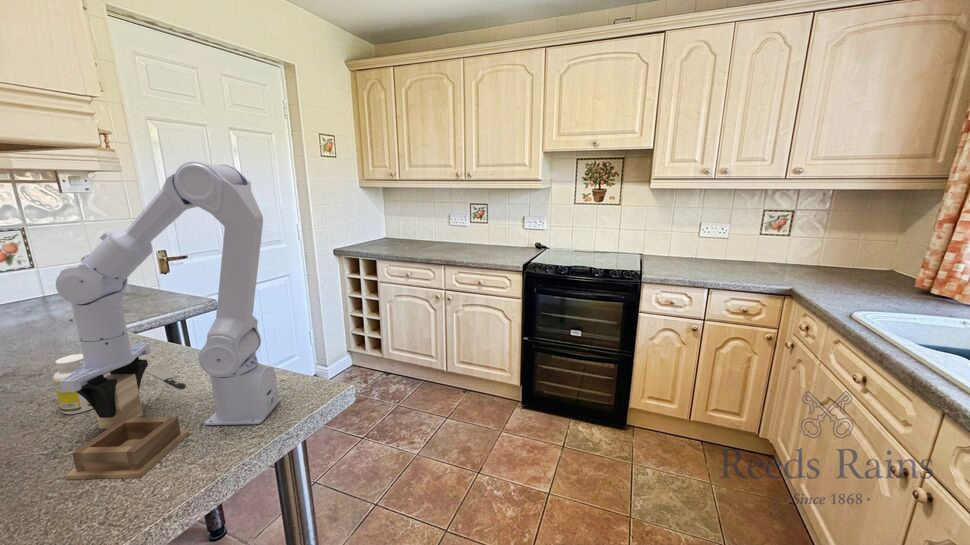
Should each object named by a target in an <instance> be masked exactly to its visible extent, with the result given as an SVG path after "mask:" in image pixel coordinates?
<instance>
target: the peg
mask: <svg viewBox="0 0 970 545" xmlns="http://www.w3.org/2000/svg"><path fill="white" fill-rule="evenodd" d="M106 377H107V379H117V380H118V381H117V384H116V388H115V405H116V414H115V416H114V417H112V418H100V417H99V416H98V414H97V413H96V412H95V415H96V420H97V423H98V428H99V430H102V429H105V430H107V429H109V428H110V427H111V426H113V425H114V424H116V423H117V422H119V421H120V420H122V419H123V418H142V416H144V413H143V412H144V411H143V407H142V401H141V397H140V390H139V391H138V386H137V380H136V375H135V374H109V375H107V376H106Z"/></svg>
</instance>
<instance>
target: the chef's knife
mask: <svg viewBox="0 0 970 545" xmlns="http://www.w3.org/2000/svg"><path fill="white" fill-rule="evenodd" d="M144 373H147V374H149V375H150V376H152V377H155V378H157V379H158V380H160V381H162V382H165V383H167V384H168V385H171V386H173V387H175V388H177V389H179V390H182V389H184V388H185V387H186V384H185V383H183V382H181V383H180V382H177V381H175V380H174V379H175V378H177V377H180V375H178V374H175V373H172V372H170V371H166V370H163V369H159V370H158V368H156V369H155V368H146V369H145V371H144Z"/></svg>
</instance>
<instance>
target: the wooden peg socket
mask: <svg viewBox="0 0 970 545" xmlns="http://www.w3.org/2000/svg"><path fill="white" fill-rule="evenodd" d="M180 427H181V426H180V423H179V417H178V416H176V417H173V416H172V417H139V418H123V419H122V420H120V421H119V422H117V423H116V424H114V425H113V426H111V427H110V428H109V429H105V430H104V431H103V432H102V433H100V434H98V435H97V436H95V437H94V438H92V439H90V440H89V441H88V442H86V443H85V444H83V445H82V446H81V447H79V448H77V449H76V450H75V451H73V452H72V458H73V462H74V463H73V464H74V467H75V468H74V469H72V470H71V471H70V472H68V473H67V474H66V475H64V477H65V480H66V481H68V480H95V479H96V480H97V479H99V480H100V479H131V478H132V479H133V478H142V477H143V476H144V475H145V474H147V473H148V472H149V471H150V470H151V469H152V468H153V467H154V466H155V465H156V464H158V463H159V462H160V461H161V460H162V459H163V458H164V457H166V456H167V455H168V454H169V452H171V451H172V450H173V449H174V448H176V447H177V446H178V445H179V444H180V443H181V442H183V440H184V439H186V437H188V436H189V435H190V430H181V429H180Z"/></svg>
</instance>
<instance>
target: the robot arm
mask: <svg viewBox="0 0 970 545" xmlns="http://www.w3.org/2000/svg"><path fill="white" fill-rule="evenodd" d="M194 208H200V209H201V210H204V211H206V212H207V213H209V214H210V215H212V216H213V218H215V219H216V220H217V221H218V222H219V223H220V224H222V226H223V227H224V232H223V233H224V234H223V241H222V253H221V262H220V275H219V283H218V284H219V285H218V294H217V305H216V314H215V315H216V316H215V319H214V322H213V323H212V325H211V327H210V329H209V331H208V332H207V336H206V341H205V344H204V346H202V348H201V350H200V351H199V353H198V363H199V366H200V367H201V369H202V370H203V371H204V372H205V373H206V374H208V375H209V378H210V382H211V383H210V384H211V388H212V397H213V401H214V409H215V410H214V411H215V412H214V413H213V414H212V415H211V416H210V417H208V418H207V419H206V420H205V421H204V425H205V426H222V425H224V426H227V425H230V426H231V425H235V426H236V425H259V424H262V423H263V421H264V420H265V419H266V418H267V417H268V415H269V414H270V413H272V411H273V410H274V408H275V407H276V406H277V405H278V404H279V403H280V402H281V398H280V397H279V395H278V385H277V376H276V375H277V374H276V371H275V369H274V367H272V366H270V365H269V366H267V365H263V364H262V363H259V362H258V358H257V353H256V352H257V351H258V350H259V348H260V347H261V344H262V336H261V334H260V332H259V330H258V329H259V328H258V323H259V322H258V319H257V318H256V317H254V315H253V313H254V304H255V297H256V286H257V279H258V278H257V277H258V269H259V261H260V253H261V245H262V244H261V243H262V233H263V226H264V216H263V213H262V212H261V209H260V207H259V205H258V203H257V201H256V198H255V196H254V194H253V192H252V182H251V181H250V180H248V179H247V178H246V176H244V175H243V173H241V172H240V171H239V170H238V169H237V168H236V167H234V166H232V165H229V164H215V163H214V164H213V163H205V162H202V161H196V160H195V161H194V160H193V161H186V162H185V163H183V164H181V165H180V166H179V167H178V168H177V169H176V171H175V173H172V174H171V175H169V176H168V177H166V179H165V181H164V184H163V187H162V188H160V190H159V191H158V192H157V194H156V195H154V197H153V198H152V199H151V201H150V202H149V203H148V204H147V205H146V206H145V207H144V209H143V210H142V211H141V212H140V213H139V215H138V216H137V217H136V218H135V219H134V220H133V222H132V223H131V224H130V225H129V227H128V228H118V229H114V230H112V231H108V232H104V233H103V234H102V235H100V237H99V239H100V240H101V242H100V243H99V244H98V245H97V246H96V247H95V248H94V249H93V250H92V251H91V252H90V253H89V254H85V255H83V256H82V257H81V258H80V261H81V263H80V264H79V265H78V266H70V267H67V268H64V269H61V270H60V271H59V272H60V273H59V274H58V276H57V277H56V280H55V289H56V291H57V293H58V295H59V297H61V298H62V299H63V300H65V301H67V302H68V303H70V304H71V308H72V312H73V317H74V321H75V326H76V330H77V335H78V339H79V345H80V349H81V352H82V353H81V354H83V358H84V361H81V362H80V365H81V367H80V368H78V369H77V370H76V371H74V372H73V373H72V374H70V375H69V376H68V377H66V378H64V379H62V380H60V385H61V389H62V392H77V393H78V394H80V395H81V396H82V397H84V398H85V399H86V400H87V401H88V402H89V403H90V405H91V406H92V407H93V408H92V410H94V411H95V414H96V413H97V414H98V416H99V417H100V418H112V417H114V416H115V414H116V405H115V388H116V384H117V381H118V380H117V379H107V376H106V375H107V374H109V373H110V374H109V375H111V374H135V375H136V380H137V386H138V391H139V392H140V387H141V383H142V379H143V377H144V376H143V375H144V374H145V369H147V367H148V366H149V363H148V362H149V361H148V359H140V358H139V357H142V356H143V355H144V356H146V355H149V354H151V345H150V343H149V342H147V343H146V342H143V343H139V342H138V343H136V344H134V345H131V344H130V339H129V334H128V329H127V323H126V318H125V311H124V308H123V303H122V301H124V297H123V292H124V290H126V288H127V286H128V283H129V282H128V281H129V280H128V278H129V277H130V275H132V273H134V272H135V271H136V270H137V268H139V266H140V265H141V264H143V263H144V261H145V260H146V259H148V257H150V256H151V254H152V253H153V251H154V250H153V246H152V241H153V240H155V239H156V238H157V236H159V235H160V234H161V233H162V232H163V231H164V230H165V229H167V227H169V225H171V224H172V223H173V222H175V220H177V219H178V218H179V217H180V216H181V215H182V214H183V213H184V212H185V211H186V210H190V209H194ZM104 375H105V376H104Z"/></svg>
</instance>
